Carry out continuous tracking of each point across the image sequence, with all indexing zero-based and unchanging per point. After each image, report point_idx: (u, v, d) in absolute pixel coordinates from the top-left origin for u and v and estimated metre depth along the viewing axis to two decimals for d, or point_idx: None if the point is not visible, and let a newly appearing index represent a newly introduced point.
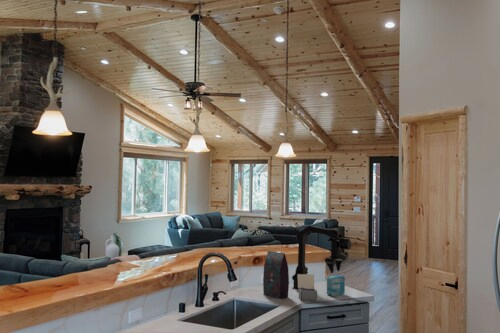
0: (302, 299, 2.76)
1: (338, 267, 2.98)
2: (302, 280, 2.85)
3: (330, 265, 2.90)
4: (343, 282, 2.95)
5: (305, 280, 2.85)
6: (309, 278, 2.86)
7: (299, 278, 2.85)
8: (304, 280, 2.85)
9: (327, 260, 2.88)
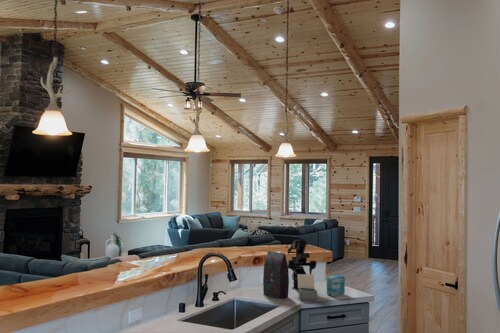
0: (302, 299, 2.76)
1: (310, 271, 2.95)
2: (302, 280, 2.85)
3: (293, 269, 2.97)
4: (343, 282, 2.95)
5: (305, 280, 2.85)
6: (309, 278, 2.86)
7: (299, 278, 2.85)
8: (304, 280, 2.85)
9: (288, 265, 2.99)
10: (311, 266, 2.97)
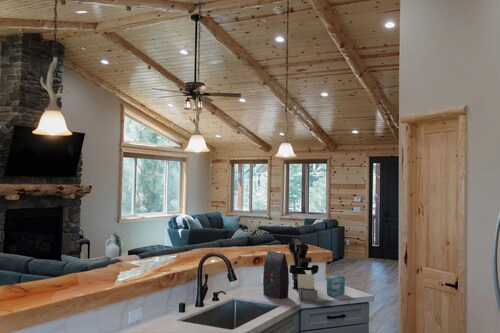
0: (302, 299, 2.76)
1: None
2: (302, 280, 2.85)
3: (295, 273, 2.91)
4: (343, 282, 2.95)
5: (305, 280, 2.85)
6: (309, 278, 2.86)
7: (299, 278, 2.85)
8: (304, 280, 2.85)
9: (289, 269, 2.93)
10: (313, 271, 2.90)
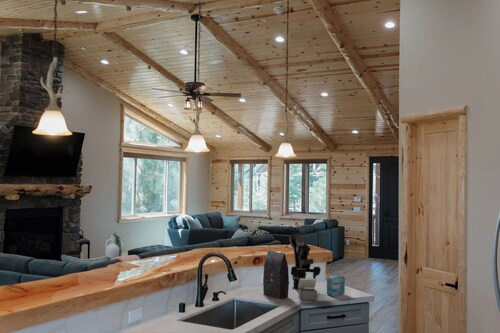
0: (302, 299, 2.76)
1: (313, 278, 2.84)
2: (303, 283, 2.81)
3: (297, 275, 2.85)
4: (343, 282, 2.95)
5: (306, 283, 2.81)
6: (311, 282, 2.81)
7: (301, 282, 2.80)
8: (305, 283, 2.81)
9: (291, 271, 2.88)
10: (315, 272, 2.85)
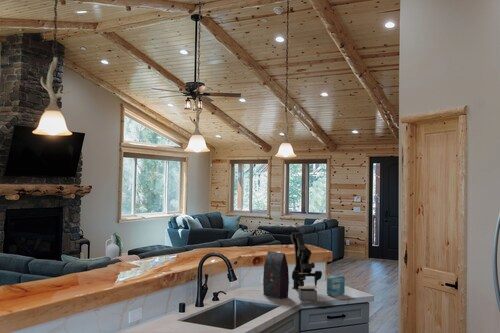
0: (302, 299, 2.76)
1: (315, 283, 2.80)
2: None
3: (298, 280, 2.81)
4: (343, 282, 2.95)
5: None
6: None
7: None
8: None
9: (292, 275, 2.84)
10: (316, 277, 2.81)
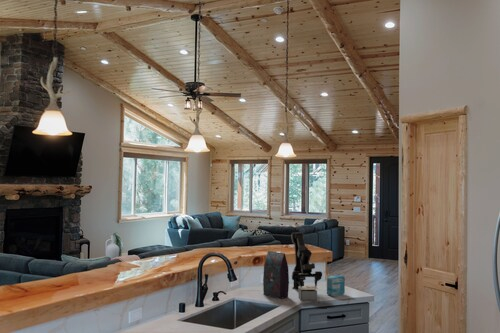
0: (302, 299, 2.76)
1: (315, 283, 2.79)
2: None
3: (298, 280, 2.81)
4: (343, 282, 2.95)
5: None
6: None
7: None
8: None
9: (292, 276, 2.83)
10: (316, 277, 2.80)
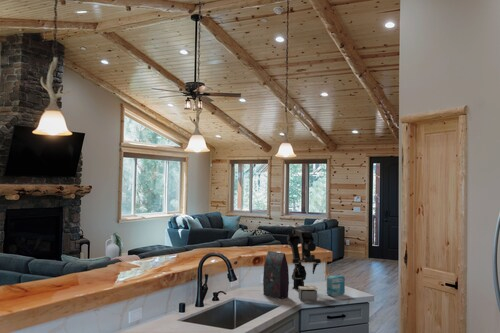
0: (302, 299, 2.76)
1: (313, 270, 2.97)
2: None
3: (297, 266, 2.98)
4: (343, 282, 2.95)
5: None
6: None
7: None
8: None
9: (292, 260, 2.98)
10: (315, 265, 2.96)
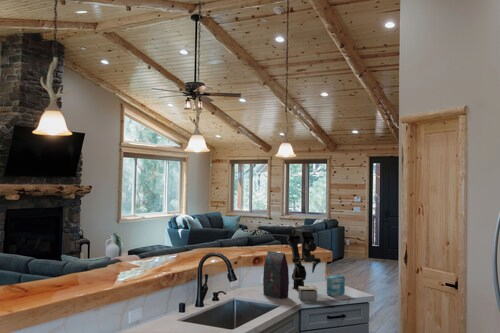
0: (302, 299, 2.76)
1: (312, 269, 2.99)
2: None
3: (297, 265, 2.99)
4: (343, 282, 2.95)
5: None
6: None
7: None
8: None
9: (292, 259, 2.99)
10: (315, 265, 2.97)
